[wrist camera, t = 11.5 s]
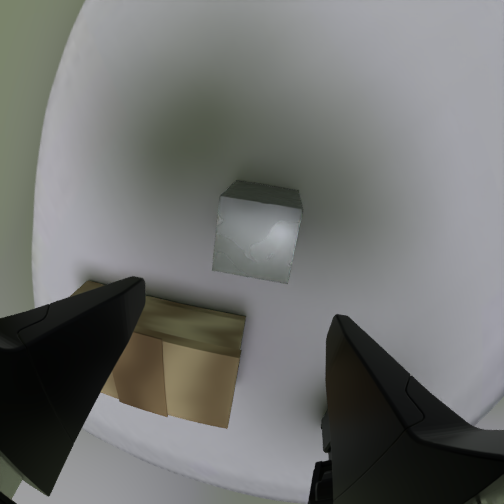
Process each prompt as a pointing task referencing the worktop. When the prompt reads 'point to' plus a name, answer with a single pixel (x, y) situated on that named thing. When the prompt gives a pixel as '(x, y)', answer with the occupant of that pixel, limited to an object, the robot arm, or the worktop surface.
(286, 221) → the block
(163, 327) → the box
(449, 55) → the worktop surface
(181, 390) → the lid
